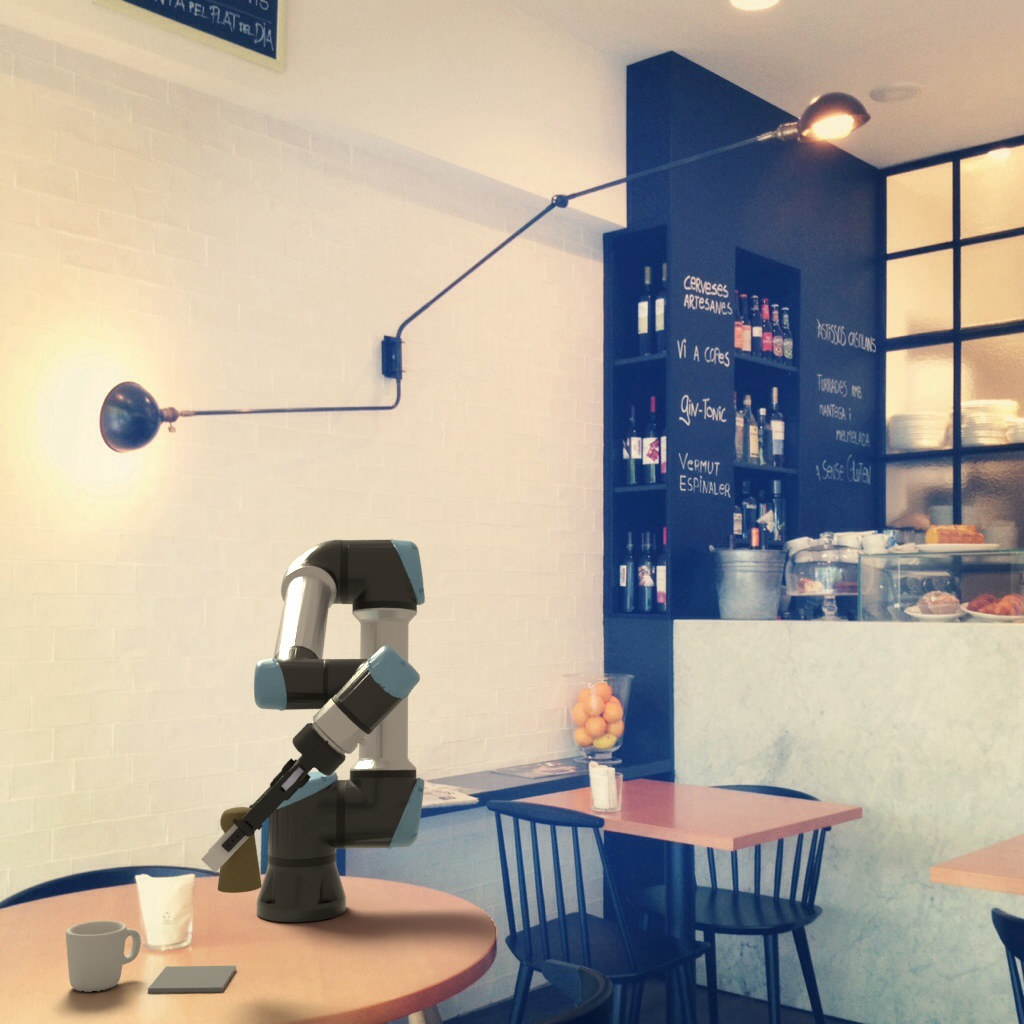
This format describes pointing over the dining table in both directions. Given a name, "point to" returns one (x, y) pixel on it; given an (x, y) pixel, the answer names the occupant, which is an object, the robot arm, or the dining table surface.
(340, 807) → the robot arm
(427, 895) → the dining table surface
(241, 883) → the pepper mill
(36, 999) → the dining table surface
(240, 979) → the dining table surface
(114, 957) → the cup
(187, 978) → the coaster
